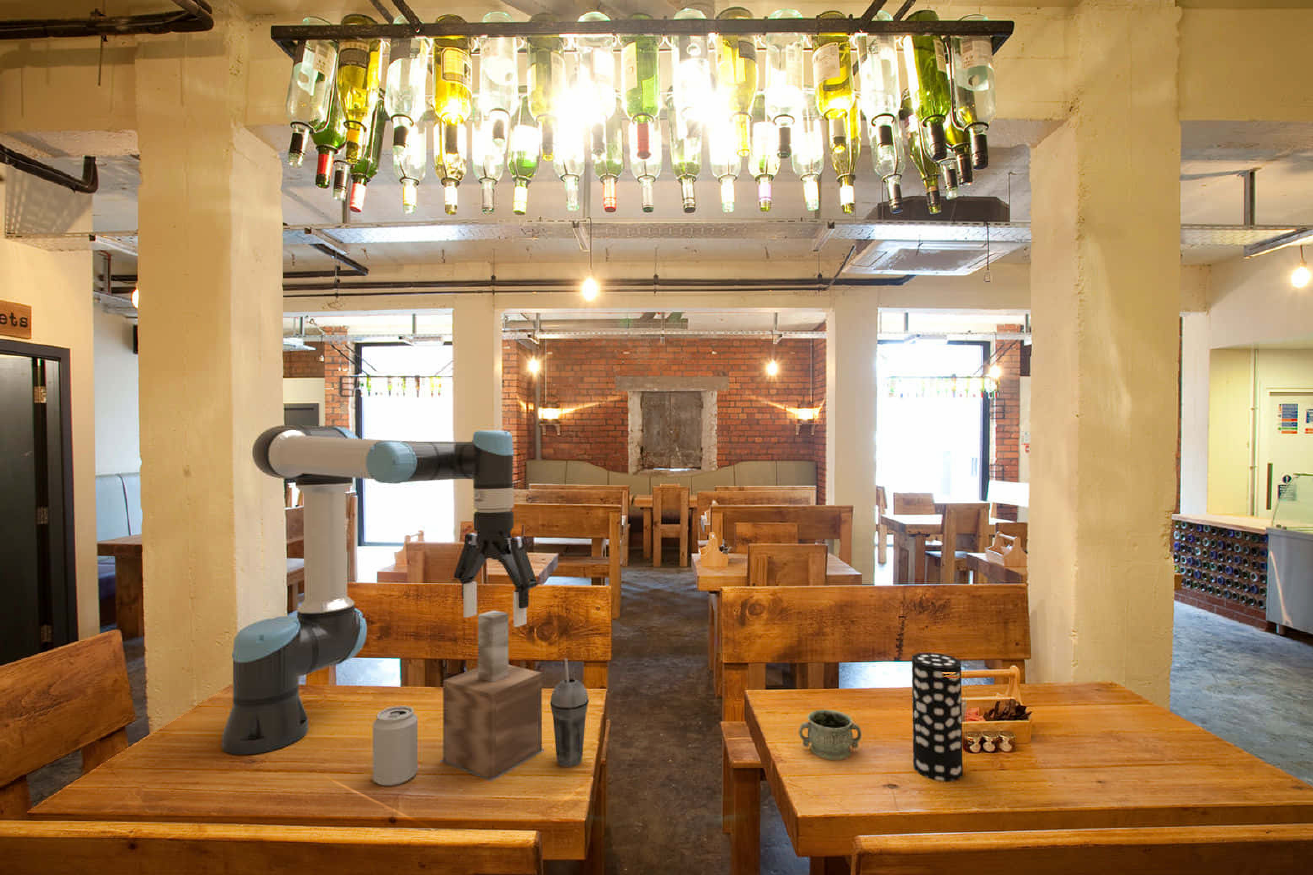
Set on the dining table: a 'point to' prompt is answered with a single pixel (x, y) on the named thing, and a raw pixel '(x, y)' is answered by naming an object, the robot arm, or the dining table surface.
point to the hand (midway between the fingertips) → (494, 620)
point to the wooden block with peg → (492, 707)
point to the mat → (496, 776)
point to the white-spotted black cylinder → (937, 716)
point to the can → (394, 746)
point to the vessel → (830, 734)
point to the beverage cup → (569, 719)
